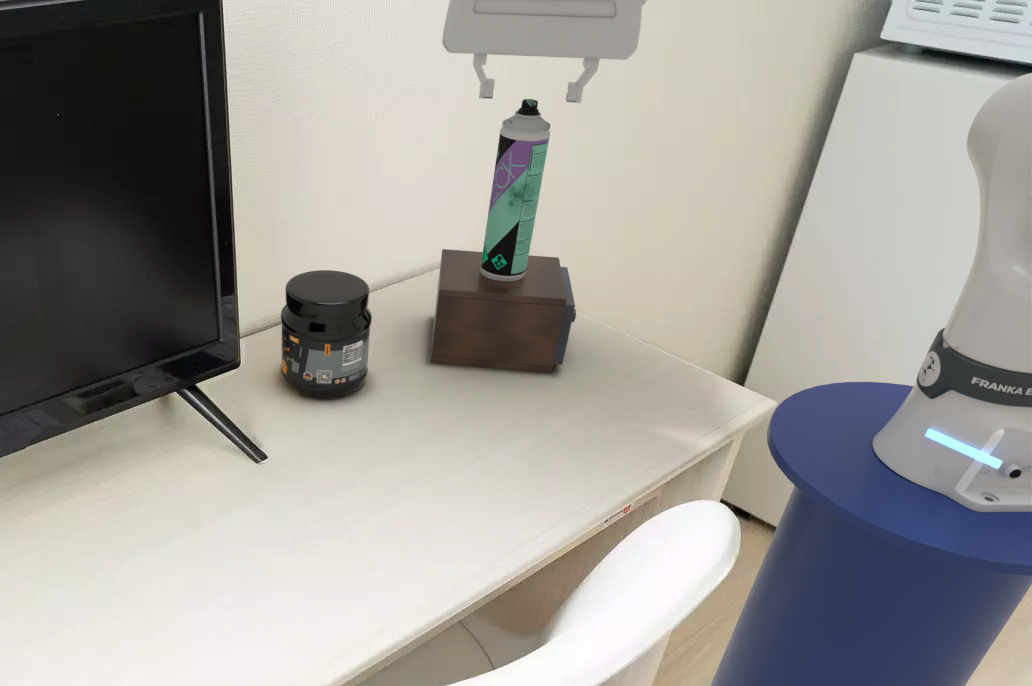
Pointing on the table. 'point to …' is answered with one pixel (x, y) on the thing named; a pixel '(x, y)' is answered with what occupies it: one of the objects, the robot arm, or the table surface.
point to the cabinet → (497, 314)
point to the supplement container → (325, 333)
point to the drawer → (565, 318)
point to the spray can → (515, 193)
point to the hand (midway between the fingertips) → (529, 99)
